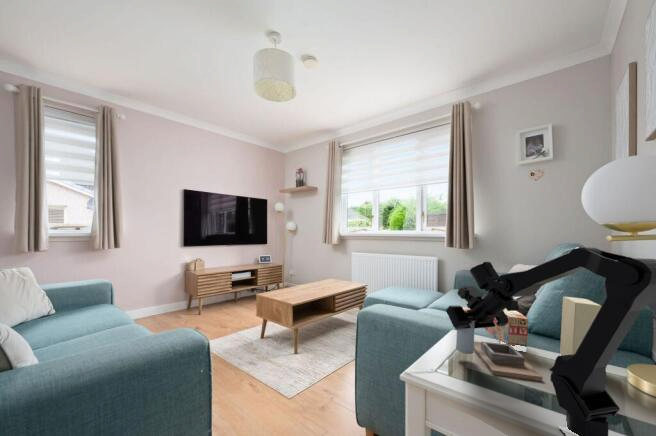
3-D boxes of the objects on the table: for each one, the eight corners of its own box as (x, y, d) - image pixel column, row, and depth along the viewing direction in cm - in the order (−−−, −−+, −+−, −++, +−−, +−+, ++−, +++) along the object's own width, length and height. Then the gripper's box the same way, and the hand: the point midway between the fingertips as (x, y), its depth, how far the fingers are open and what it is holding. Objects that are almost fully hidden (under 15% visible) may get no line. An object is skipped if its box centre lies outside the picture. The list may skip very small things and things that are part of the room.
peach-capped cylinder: (475, 354, 84) (477, 312, 84) (458, 352, 85) (460, 310, 85) (470, 347, 89) (472, 307, 89) (454, 345, 90) (455, 306, 90)
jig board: (542, 381, 77) (542, 368, 77) (492, 374, 79) (492, 361, 79) (508, 349, 96) (508, 338, 96) (469, 344, 99) (469, 334, 99)
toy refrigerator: (602, 376, 81) (604, 305, 82) (571, 370, 84) (574, 302, 84) (586, 363, 89) (589, 299, 89) (559, 358, 91) (561, 296, 92)
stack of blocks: (484, 328, 117) (485, 299, 117) (500, 330, 115) (501, 301, 116) (507, 351, 96) (509, 316, 96) (527, 353, 94) (528, 318, 95)
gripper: (501, 279, 86) (473, 304, 96) (451, 279, 81) (427, 305, 92) (524, 312, 78) (490, 335, 89) (470, 315, 73) (441, 339, 84)
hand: (462, 327), depth 88 cm, fingers closed on peach-capped cylinder, 5 cm apart
